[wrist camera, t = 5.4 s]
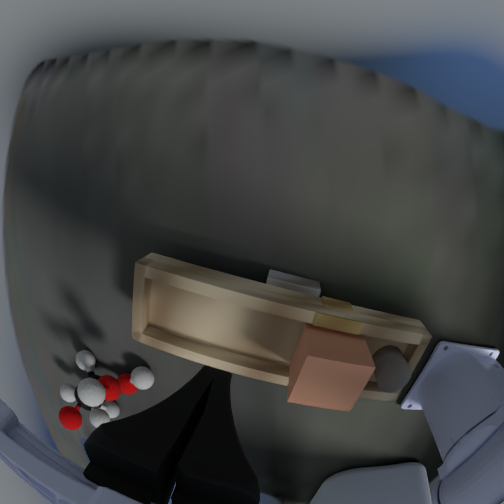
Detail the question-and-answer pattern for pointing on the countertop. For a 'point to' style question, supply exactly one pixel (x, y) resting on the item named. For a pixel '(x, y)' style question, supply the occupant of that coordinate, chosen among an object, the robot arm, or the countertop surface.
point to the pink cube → (329, 368)
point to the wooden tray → (262, 323)
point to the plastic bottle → (376, 486)
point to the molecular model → (99, 392)
